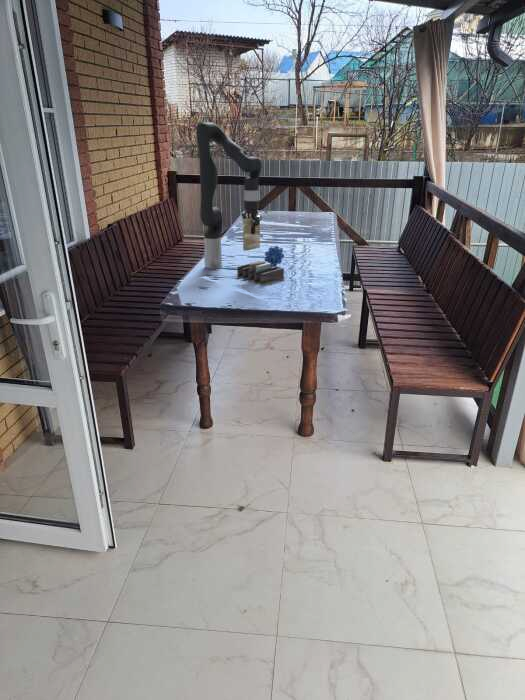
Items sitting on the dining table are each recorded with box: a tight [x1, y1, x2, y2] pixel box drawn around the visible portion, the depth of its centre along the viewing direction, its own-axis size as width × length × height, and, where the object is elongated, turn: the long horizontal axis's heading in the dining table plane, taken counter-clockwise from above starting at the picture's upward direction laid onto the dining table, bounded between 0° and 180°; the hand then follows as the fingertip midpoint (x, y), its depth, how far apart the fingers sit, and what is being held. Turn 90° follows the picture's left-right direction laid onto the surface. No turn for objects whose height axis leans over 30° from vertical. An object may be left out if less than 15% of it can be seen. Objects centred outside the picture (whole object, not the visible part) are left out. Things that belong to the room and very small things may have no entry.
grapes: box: [263, 245, 285, 267], centre depth 279 cm, size 12×7×12 cm, turn 75°
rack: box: [234, 260, 287, 286], centre depth 258 cm, size 22×18×6 cm
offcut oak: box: [249, 260, 266, 270], centre depth 259 cm, size 2×9×7 cm, turn 133°
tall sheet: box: [242, 218, 261, 252], centre depth 254 cm, size 2×10×16 cm, turn 133°
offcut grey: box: [256, 262, 271, 272], centre depth 256 cm, size 2×9×7 cm, turn 133°
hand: (251, 233), depth 254 cm, fingers closed on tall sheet, 2 cm apart
